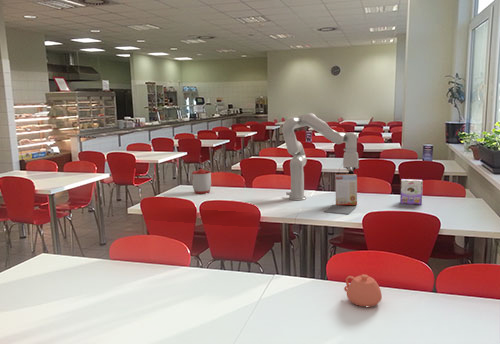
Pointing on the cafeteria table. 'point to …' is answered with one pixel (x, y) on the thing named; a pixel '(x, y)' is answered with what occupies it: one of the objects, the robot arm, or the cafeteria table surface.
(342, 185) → the cracker box
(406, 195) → the candy box
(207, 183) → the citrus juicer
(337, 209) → the mat
